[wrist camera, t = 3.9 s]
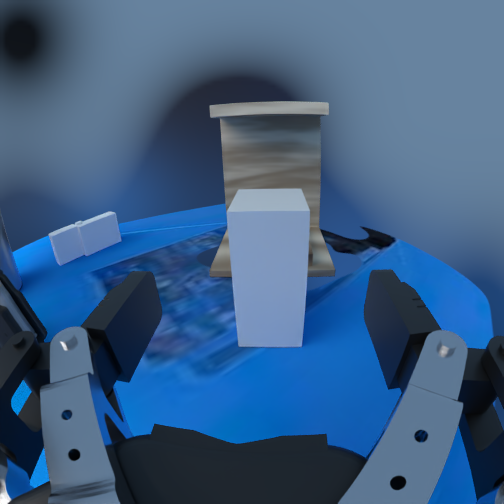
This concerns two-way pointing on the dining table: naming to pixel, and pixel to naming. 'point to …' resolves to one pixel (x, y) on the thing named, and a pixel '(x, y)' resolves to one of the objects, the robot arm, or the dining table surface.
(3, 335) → the magazine
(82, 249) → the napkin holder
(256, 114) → the brown wooden upright stand
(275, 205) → the pale elongated brick
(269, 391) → the dining table surface
